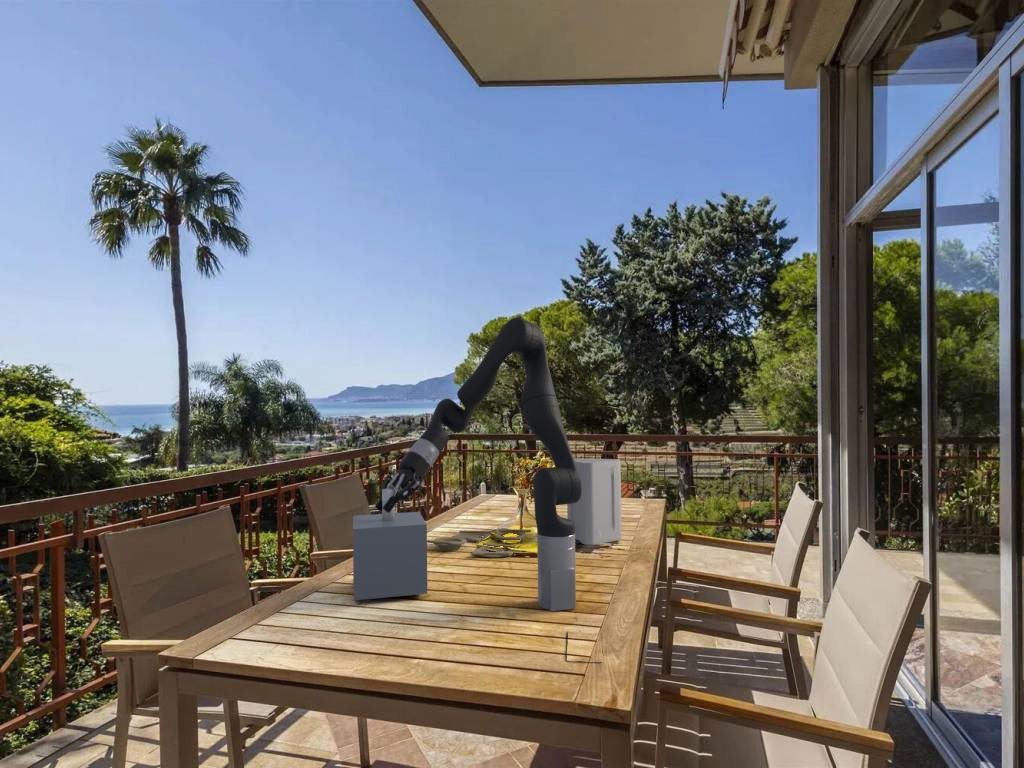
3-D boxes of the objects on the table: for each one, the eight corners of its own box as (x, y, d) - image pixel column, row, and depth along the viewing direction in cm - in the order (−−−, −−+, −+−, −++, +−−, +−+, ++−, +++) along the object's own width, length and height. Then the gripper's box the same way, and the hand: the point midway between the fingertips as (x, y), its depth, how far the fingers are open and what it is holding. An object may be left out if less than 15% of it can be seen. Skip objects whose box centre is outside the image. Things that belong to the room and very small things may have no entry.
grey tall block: (561, 543, 210) (560, 462, 211) (569, 534, 224) (568, 458, 225) (616, 546, 205) (615, 463, 206) (621, 536, 219) (620, 459, 220)
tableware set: (505, 562, 187) (505, 549, 188) (420, 555, 197) (420, 543, 197) (537, 537, 221) (537, 526, 221) (463, 533, 230) (463, 522, 230)
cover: (427, 593, 152) (426, 492, 153) (353, 600, 148) (352, 496, 148) (420, 573, 170) (419, 483, 170) (353, 579, 165) (353, 486, 166)
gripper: (396, 448, 170) (358, 497, 161) (427, 451, 160) (387, 503, 151) (412, 466, 173) (375, 515, 165) (443, 469, 163) (405, 522, 154)
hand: (381, 509), depth 158 cm, fingers closed on cover, 3 cm apart
